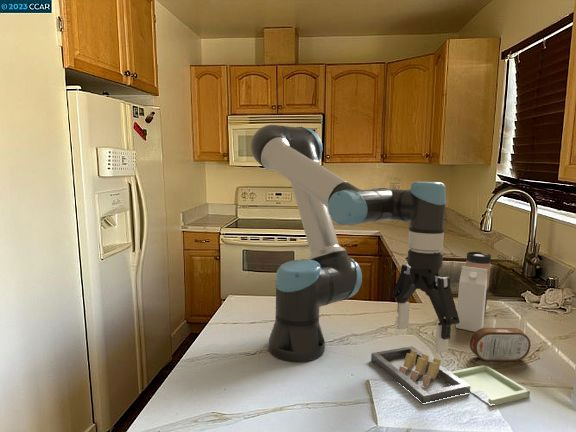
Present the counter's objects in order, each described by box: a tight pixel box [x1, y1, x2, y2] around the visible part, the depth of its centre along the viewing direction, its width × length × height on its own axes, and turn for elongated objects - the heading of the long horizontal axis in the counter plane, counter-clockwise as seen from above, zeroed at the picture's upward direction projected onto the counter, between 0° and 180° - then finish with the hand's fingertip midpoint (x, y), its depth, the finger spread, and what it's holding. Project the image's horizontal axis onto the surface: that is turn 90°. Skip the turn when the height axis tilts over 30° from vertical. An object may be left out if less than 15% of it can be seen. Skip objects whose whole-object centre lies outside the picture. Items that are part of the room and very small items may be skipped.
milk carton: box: [455, 265, 487, 333], centre depth 123 cm, size 7×7×19 cm
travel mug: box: [465, 251, 492, 314], centre depth 138 cm, size 8×8×20 cm
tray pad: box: [450, 364, 531, 406], centre depth 91 cm, size 11×12×1 cm
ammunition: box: [398, 350, 442, 388], centre depth 94 cm, size 5×7×8 cm
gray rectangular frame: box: [370, 345, 471, 403], centre depth 95 cm, size 12×20×2 cm, turn 20°
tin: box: [469, 326, 532, 362], centre depth 103 cm, size 15×3×8 cm, turn 92°
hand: (420, 339), depth 93 cm, fingers open, 13 cm apart
